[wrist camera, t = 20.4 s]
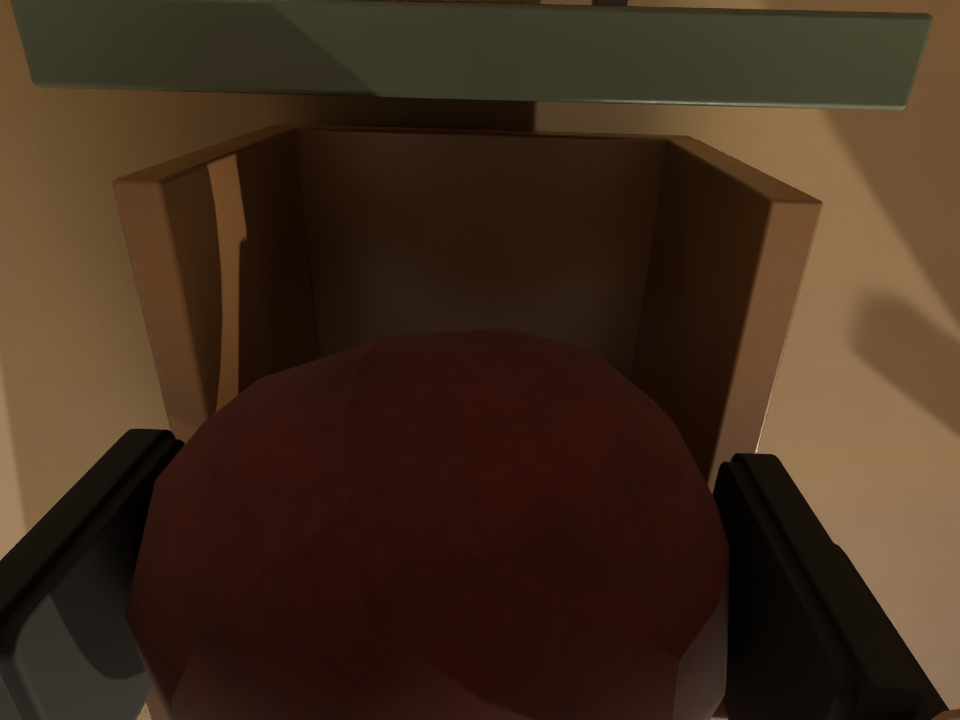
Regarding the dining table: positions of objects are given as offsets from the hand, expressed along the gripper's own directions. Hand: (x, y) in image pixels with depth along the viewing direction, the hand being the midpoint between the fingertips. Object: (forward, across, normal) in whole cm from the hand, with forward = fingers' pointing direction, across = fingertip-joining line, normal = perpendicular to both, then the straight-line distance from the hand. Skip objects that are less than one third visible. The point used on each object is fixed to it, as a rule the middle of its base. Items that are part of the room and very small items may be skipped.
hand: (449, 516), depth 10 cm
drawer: (+10, 0, -3) cm, 10 cm away
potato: (+2, 0, 0) cm, 2 cm away
